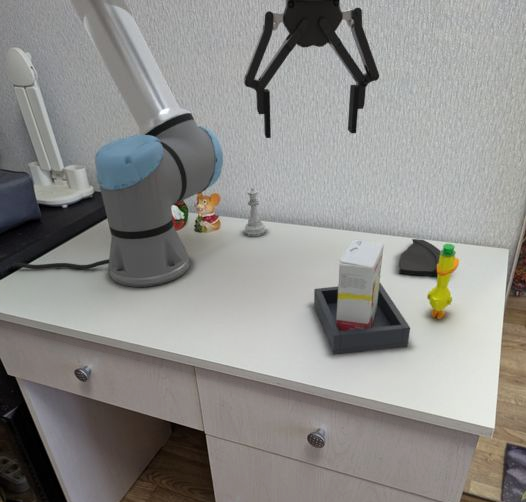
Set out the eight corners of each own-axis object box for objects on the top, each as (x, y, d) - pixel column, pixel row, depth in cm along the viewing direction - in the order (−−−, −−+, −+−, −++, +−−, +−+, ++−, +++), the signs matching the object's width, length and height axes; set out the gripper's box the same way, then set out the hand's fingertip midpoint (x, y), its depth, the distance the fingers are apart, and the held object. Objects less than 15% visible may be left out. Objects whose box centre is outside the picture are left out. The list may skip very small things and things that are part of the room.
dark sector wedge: (445, 247, 98) (446, 240, 97) (445, 278, 88) (446, 270, 87) (402, 244, 100) (403, 237, 99) (397, 274, 90) (398, 266, 89)
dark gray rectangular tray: (333, 354, 71) (333, 335, 69) (313, 306, 82) (314, 288, 80) (407, 346, 71) (410, 327, 69) (378, 299, 83) (380, 282, 81)
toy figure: (435, 302, 81) (448, 233, 74) (457, 308, 79) (472, 238, 72) (419, 320, 77) (430, 249, 70) (441, 327, 75) (455, 254, 68)
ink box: (367, 341, 72) (374, 266, 65) (334, 335, 73) (337, 262, 66) (378, 311, 78) (385, 241, 71) (347, 307, 80) (351, 238, 73)
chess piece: (248, 228, 112) (245, 183, 106) (267, 229, 110) (265, 184, 105) (242, 235, 108) (239, 190, 102) (261, 237, 107) (259, 191, 101)
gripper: (221, -32, 63) (232, 143, 75) (413, -40, 64) (393, 134, 76) (220, -30, 69) (231, 132, 81) (395, -37, 70) (380, 124, 82)
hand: (309, 134), depth 79 cm, fingers open, 13 cm apart
